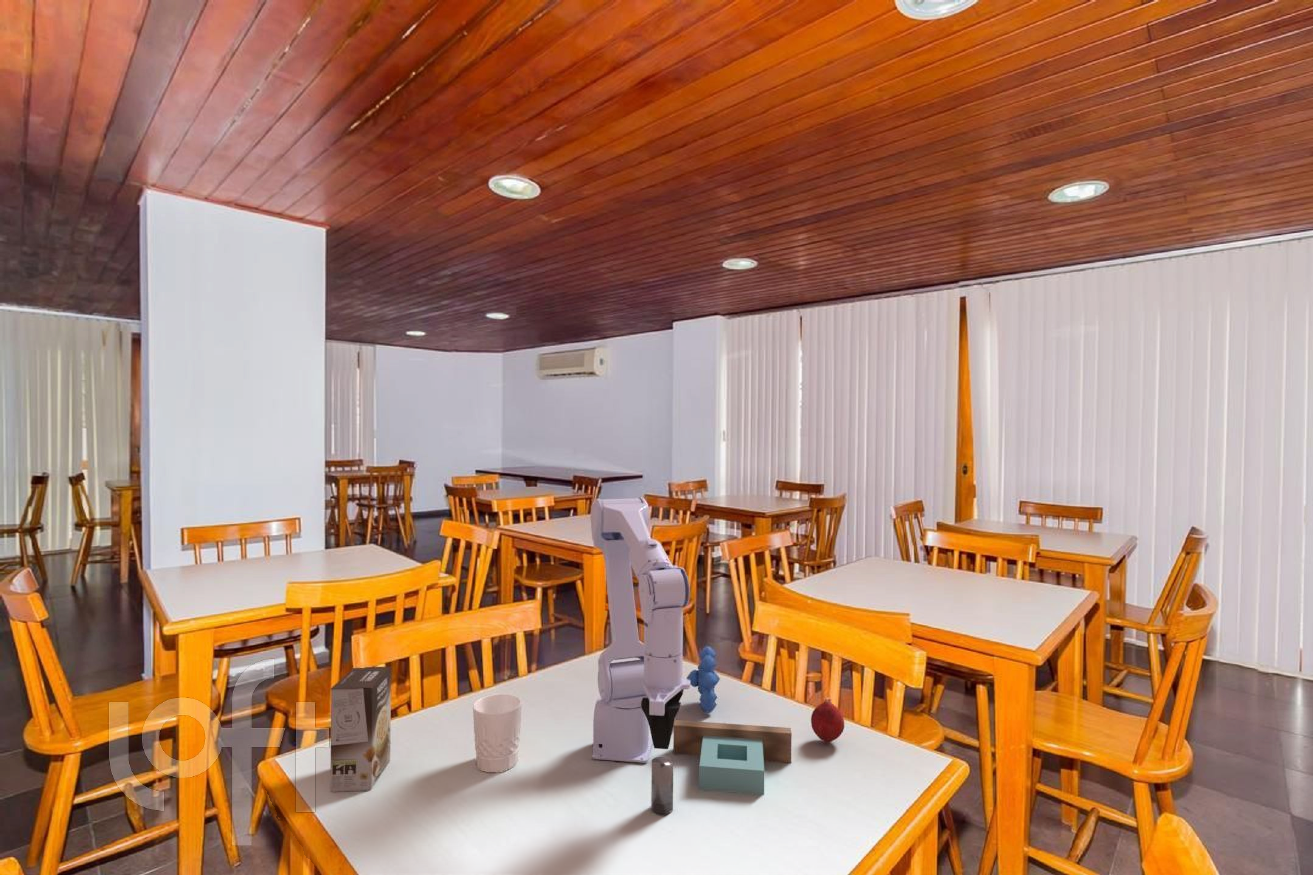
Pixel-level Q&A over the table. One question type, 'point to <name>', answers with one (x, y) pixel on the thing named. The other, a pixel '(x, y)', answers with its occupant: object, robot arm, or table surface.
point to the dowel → (662, 786)
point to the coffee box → (360, 728)
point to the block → (732, 765)
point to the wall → (692, 732)
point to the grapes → (706, 679)
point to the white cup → (497, 731)
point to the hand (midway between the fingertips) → (662, 742)
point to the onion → (827, 721)
